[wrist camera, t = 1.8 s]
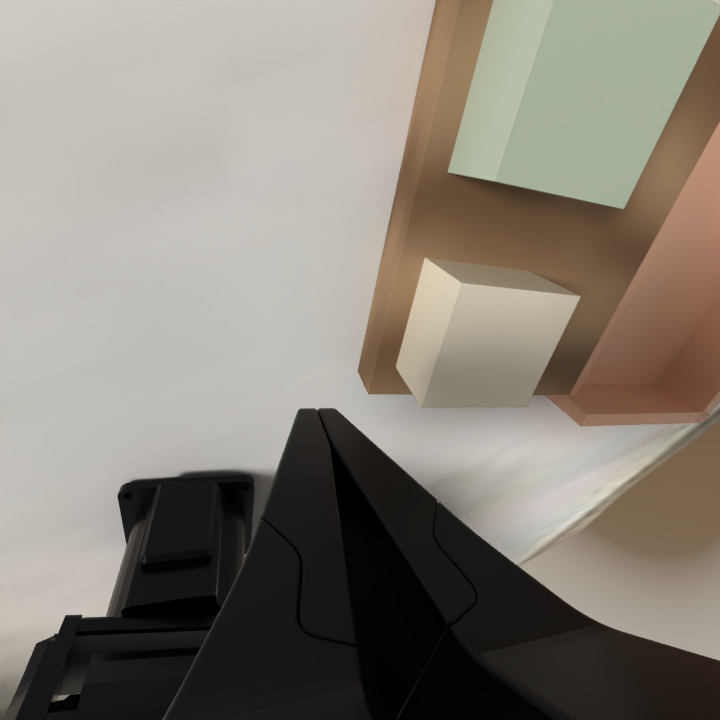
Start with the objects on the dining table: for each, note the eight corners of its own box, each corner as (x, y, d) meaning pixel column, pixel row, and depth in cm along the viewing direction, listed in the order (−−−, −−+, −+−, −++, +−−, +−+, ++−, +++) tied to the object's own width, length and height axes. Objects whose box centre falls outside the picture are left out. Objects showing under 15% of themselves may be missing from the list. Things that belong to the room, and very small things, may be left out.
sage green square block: (559, 196, 14) (623, 209, 12) (447, 172, 13) (494, 181, 10) (626, 33, 12) (723, 7, 10) (499, -21, 11) (575, -68, 8)
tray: (652, 390, 26) (703, 422, 23) (538, 389, 23) (580, 426, 20) (863, 78, 17) (985, 67, 15) (727, 9, 14) (848, -22, 12)
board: (545, 375, 22) (569, 395, 21) (357, 371, 19) (368, 394, 17) (712, 42, 15) (769, 30, 13) (452, -76, 11) (487, -113, 10)
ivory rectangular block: (488, 369, 18) (526, 406, 16) (395, 367, 17) (421, 407, 14) (529, 271, 16) (580, 296, 13) (424, 257, 14) (461, 283, 12)
